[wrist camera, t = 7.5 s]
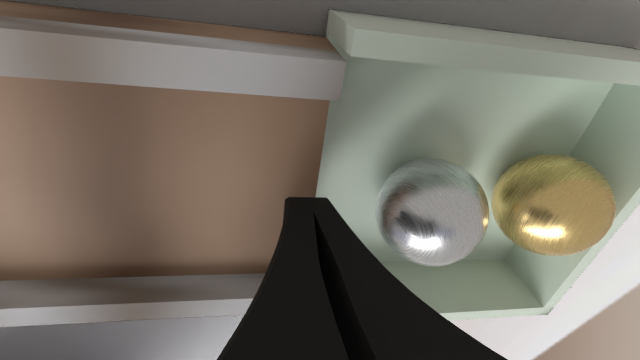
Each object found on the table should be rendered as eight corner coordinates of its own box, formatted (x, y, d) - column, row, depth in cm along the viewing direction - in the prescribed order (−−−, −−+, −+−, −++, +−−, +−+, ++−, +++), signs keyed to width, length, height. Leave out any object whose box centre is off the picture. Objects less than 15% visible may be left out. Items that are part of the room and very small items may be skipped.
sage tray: (296, 265, 16) (303, 329, 14) (328, 9, 10) (355, 28, 7) (504, 260, 19) (547, 314, 16) (634, 48, 12) (746, 74, 10)
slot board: (-42, 259, 13) (-116, 333, 11) (-235, -26, 8) (-481, -20, 5) (298, 253, 16) (304, 311, 13) (325, 36, 11) (346, 61, 8)
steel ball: (404, 195, 16) (343, 226, 13) (442, 126, 13) (373, 152, 11) (473, 257, 14) (414, 306, 12) (535, 193, 11) (472, 241, 9)
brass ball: (458, 225, 14) (546, 291, 12) (492, 142, 12) (610, 197, 10) (511, 208, 16) (599, 262, 13) (549, 134, 14) (662, 178, 11)
